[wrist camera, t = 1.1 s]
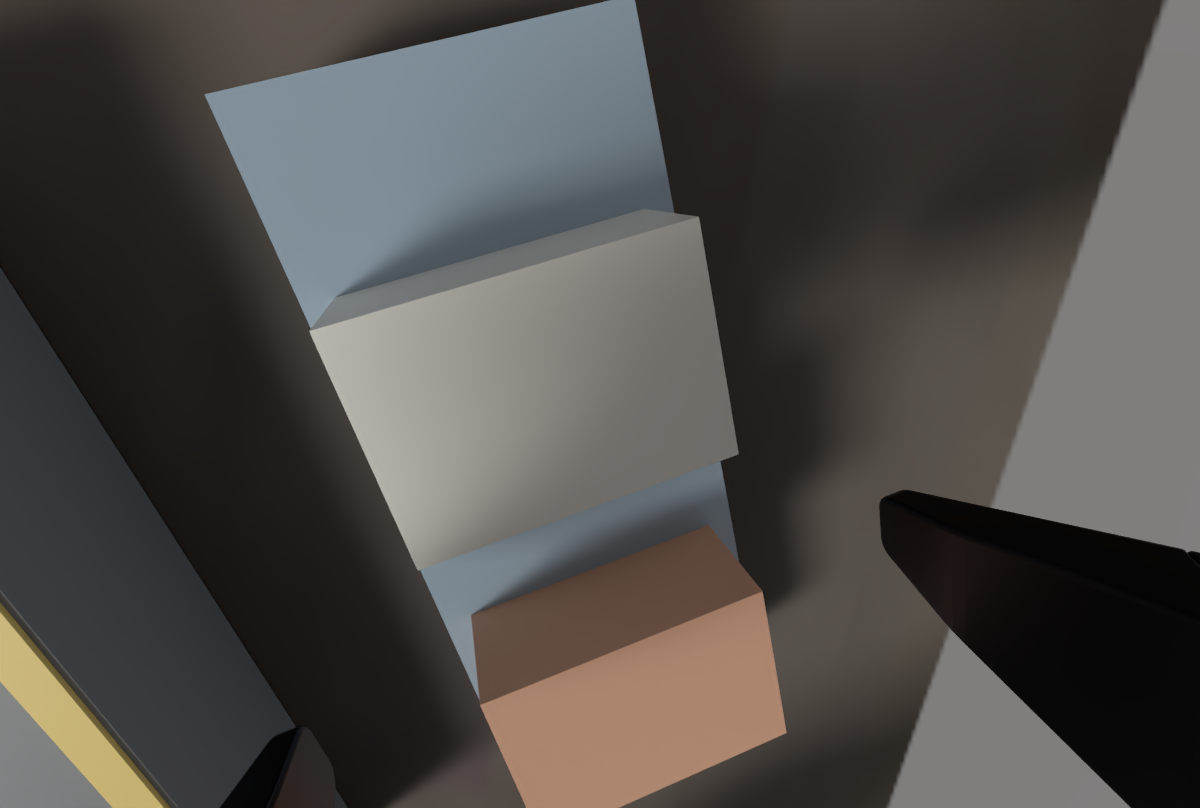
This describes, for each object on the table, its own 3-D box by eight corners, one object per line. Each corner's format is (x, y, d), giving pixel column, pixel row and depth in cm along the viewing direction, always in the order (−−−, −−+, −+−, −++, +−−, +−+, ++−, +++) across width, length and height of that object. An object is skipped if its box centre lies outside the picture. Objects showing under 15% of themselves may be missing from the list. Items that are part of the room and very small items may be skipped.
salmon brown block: (735, 653, 14) (786, 732, 12) (524, 740, 13) (541, 841, 11) (708, 525, 12) (763, 591, 10) (471, 615, 12) (480, 705, 10)
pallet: (711, 639, 18) (771, 736, 15) (521, 718, 17) (541, 838, 14) (579, 43, 12) (633, -5, 9) (268, 118, 11) (205, 94, 8)
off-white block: (683, 405, 11) (738, 454, 9) (418, 496, 11) (417, 570, 9) (643, 208, 10) (698, 216, 8) (334, 297, 9) (308, 331, 7)
